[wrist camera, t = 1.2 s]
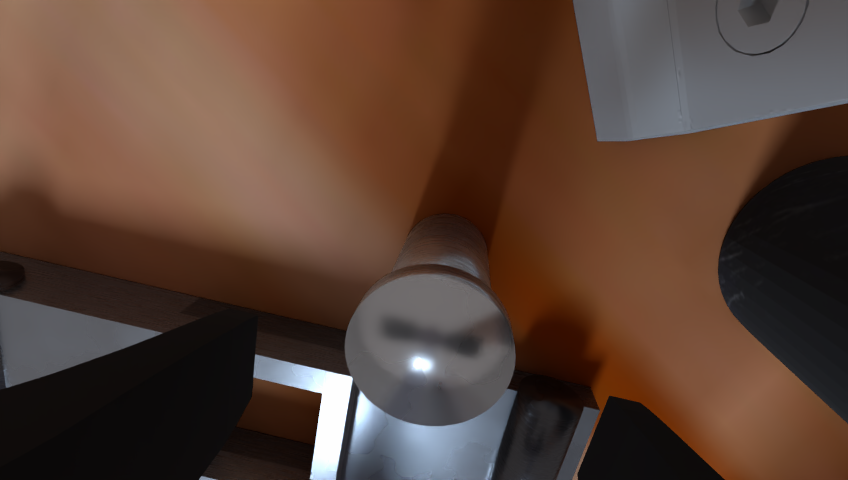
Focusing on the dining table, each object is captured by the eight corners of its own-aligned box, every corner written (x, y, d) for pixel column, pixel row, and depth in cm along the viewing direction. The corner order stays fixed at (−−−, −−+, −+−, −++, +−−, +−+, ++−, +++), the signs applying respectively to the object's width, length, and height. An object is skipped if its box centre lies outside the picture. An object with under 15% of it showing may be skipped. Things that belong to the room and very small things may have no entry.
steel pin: (484, 310, 17) (492, 442, 11) (386, 288, 18) (334, 405, 11) (509, 216, 16) (536, 299, 10) (403, 193, 16) (357, 259, 10)
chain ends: (538, 521, 21) (550, 601, 17) (13, 394, 21) (-68, 447, 18) (592, 381, 18) (619, 443, 15) (-8, 243, 19) (-107, 273, 16)
